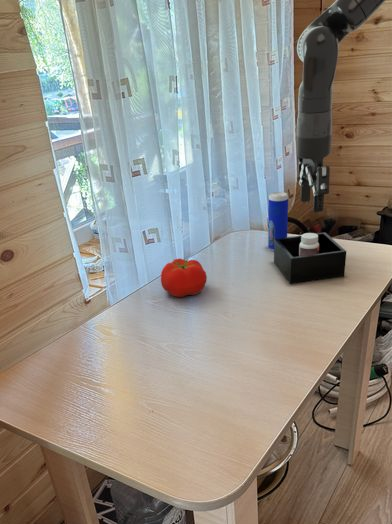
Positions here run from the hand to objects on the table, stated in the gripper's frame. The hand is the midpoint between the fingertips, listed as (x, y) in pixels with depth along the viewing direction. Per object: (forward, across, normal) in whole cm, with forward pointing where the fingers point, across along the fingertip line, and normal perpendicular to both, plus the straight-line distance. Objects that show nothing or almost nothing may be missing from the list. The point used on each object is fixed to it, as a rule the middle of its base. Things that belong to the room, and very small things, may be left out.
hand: (311, 206), depth 121 cm
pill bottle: (+16, 0, 0) cm, 16 cm away
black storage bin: (+16, 0, 0) cm, 16 cm away
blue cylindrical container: (+16, +16, +3) cm, 23 cm away
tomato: (+16, -3, +32) cm, 36 cm away
